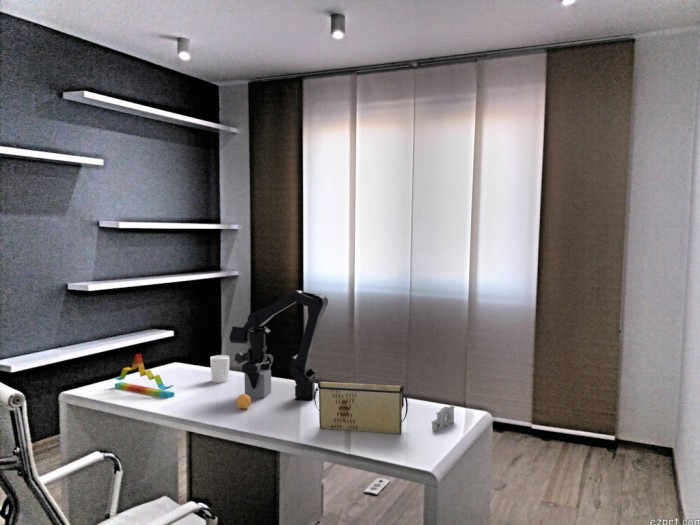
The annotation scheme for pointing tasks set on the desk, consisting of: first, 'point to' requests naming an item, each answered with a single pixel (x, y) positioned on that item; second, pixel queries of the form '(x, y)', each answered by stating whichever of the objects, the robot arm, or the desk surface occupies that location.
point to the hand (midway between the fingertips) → (258, 385)
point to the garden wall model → (443, 418)
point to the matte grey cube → (259, 385)
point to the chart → (147, 390)
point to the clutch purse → (361, 406)
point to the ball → (243, 401)
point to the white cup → (220, 368)
